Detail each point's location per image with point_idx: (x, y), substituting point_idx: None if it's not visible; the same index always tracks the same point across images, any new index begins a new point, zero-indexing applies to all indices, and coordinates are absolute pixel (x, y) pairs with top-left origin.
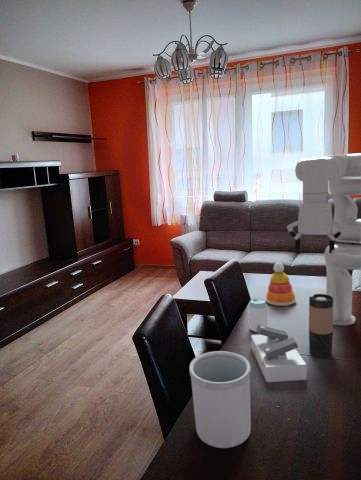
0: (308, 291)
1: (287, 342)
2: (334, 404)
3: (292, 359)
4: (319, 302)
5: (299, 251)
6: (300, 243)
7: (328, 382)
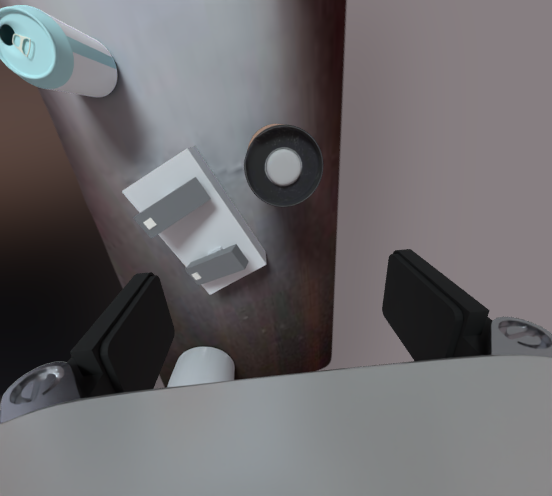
0: None
1: (227, 265)
2: (309, 289)
3: None
4: (283, 206)
5: (173, 333)
6: (138, 334)
7: (297, 246)
